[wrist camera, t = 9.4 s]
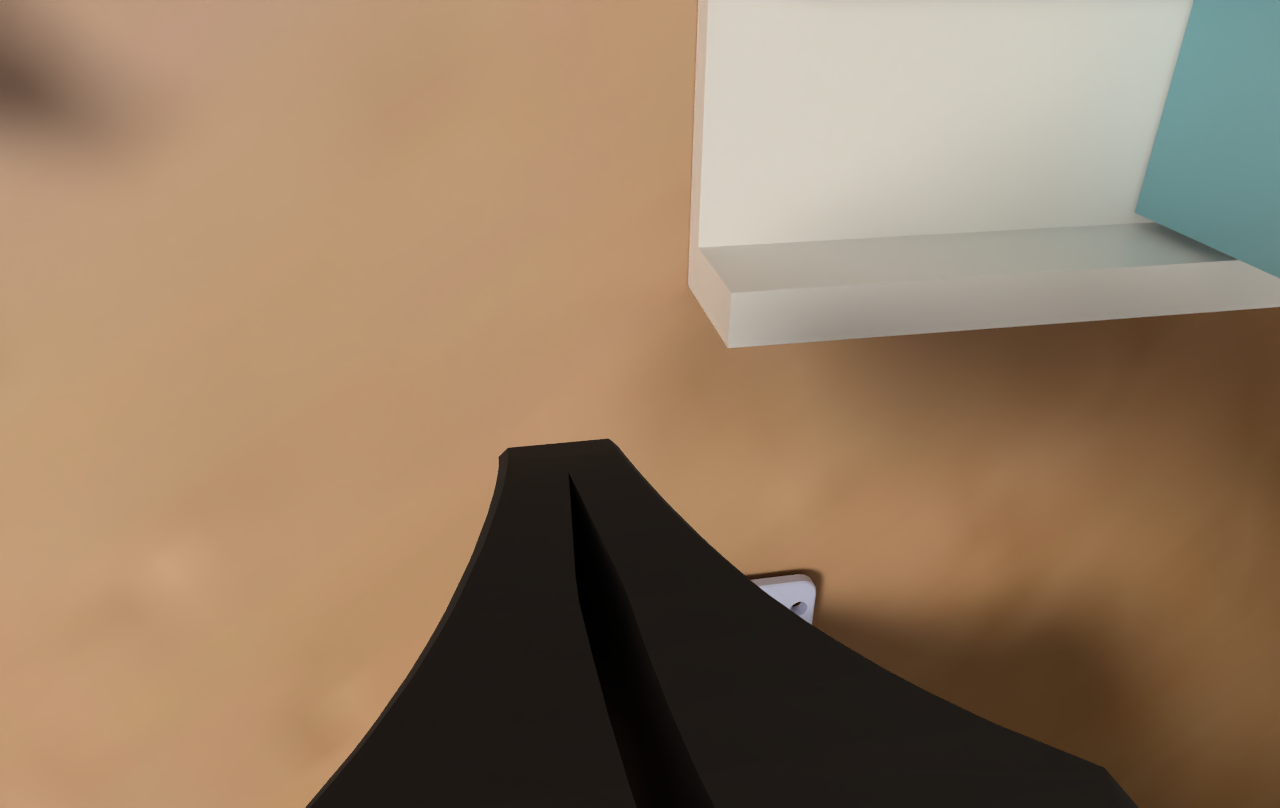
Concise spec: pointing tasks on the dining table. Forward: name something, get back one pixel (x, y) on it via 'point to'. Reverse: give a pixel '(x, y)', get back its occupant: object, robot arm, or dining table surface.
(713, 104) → the chute
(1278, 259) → the block
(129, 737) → the dining table surface
